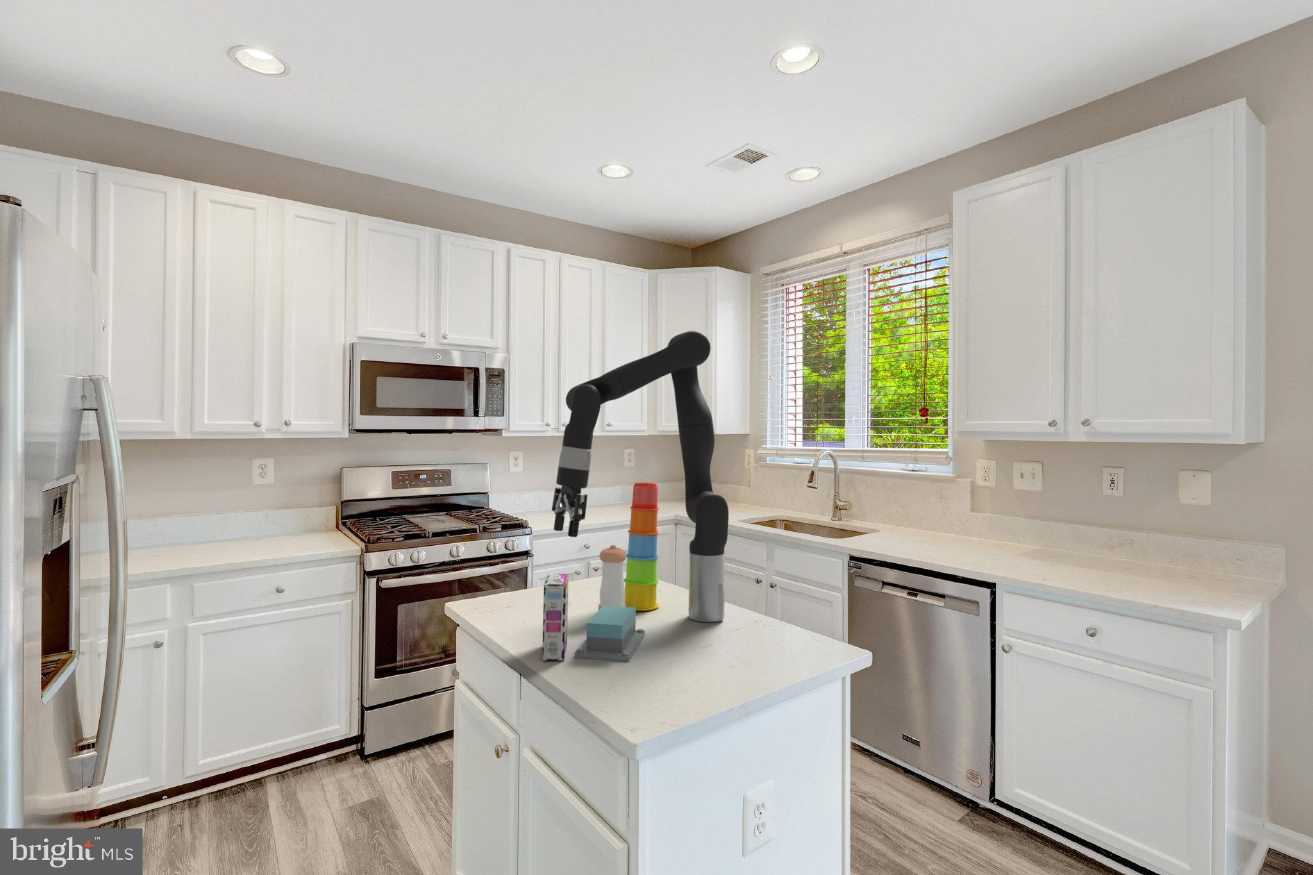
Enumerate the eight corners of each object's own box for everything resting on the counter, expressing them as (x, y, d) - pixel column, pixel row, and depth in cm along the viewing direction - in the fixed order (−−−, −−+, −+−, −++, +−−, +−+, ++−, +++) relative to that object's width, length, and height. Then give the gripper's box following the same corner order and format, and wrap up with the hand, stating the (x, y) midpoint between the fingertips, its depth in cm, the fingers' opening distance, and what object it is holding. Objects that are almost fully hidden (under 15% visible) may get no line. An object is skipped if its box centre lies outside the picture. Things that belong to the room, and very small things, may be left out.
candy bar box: (565, 661, 133) (566, 584, 133) (541, 662, 133) (542, 584, 132) (568, 643, 144) (569, 572, 144) (546, 644, 144) (547, 572, 144)
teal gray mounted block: (645, 634, 151) (645, 605, 151) (628, 661, 133) (629, 628, 133) (597, 631, 153) (597, 602, 153) (574, 657, 136) (575, 625, 136)
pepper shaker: (627, 614, 167) (628, 543, 167) (623, 623, 160) (624, 548, 160) (601, 613, 168) (601, 542, 168) (595, 622, 161) (596, 547, 160)
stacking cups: (620, 602, 179) (622, 481, 179) (656, 601, 181) (657, 481, 180) (622, 612, 169) (624, 484, 169) (660, 611, 170) (662, 484, 170)
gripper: (601, 470, 147) (592, 539, 147) (575, 465, 159) (567, 529, 159) (572, 467, 143) (562, 538, 143) (548, 462, 155) (539, 527, 155)
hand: (565, 533), depth 151 cm, fingers open, 8 cm apart
